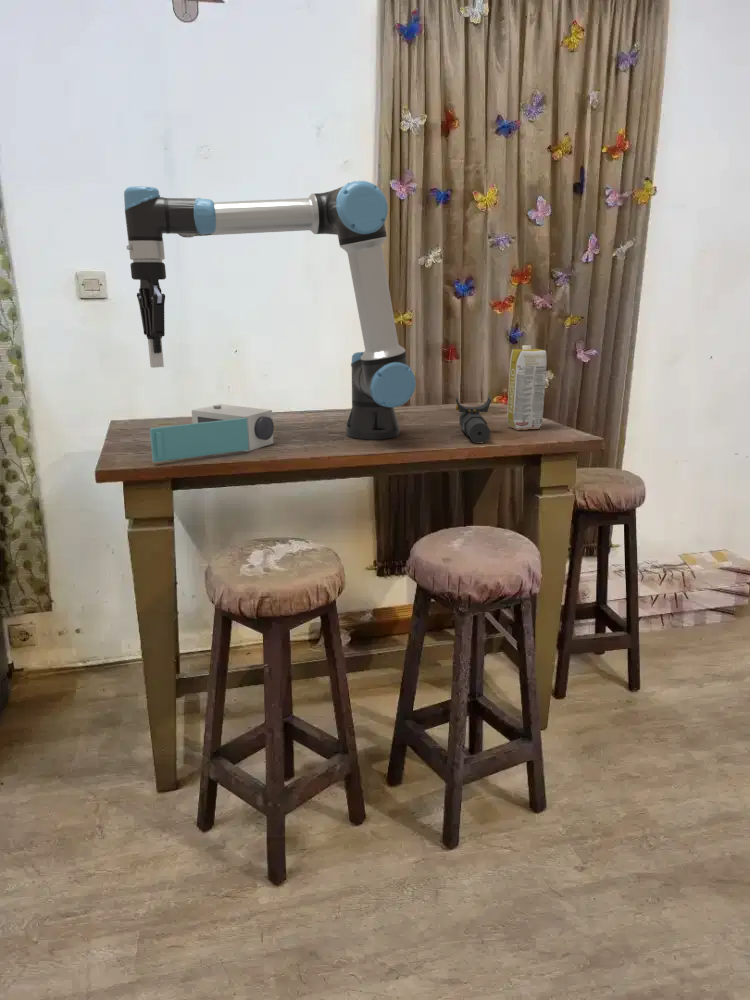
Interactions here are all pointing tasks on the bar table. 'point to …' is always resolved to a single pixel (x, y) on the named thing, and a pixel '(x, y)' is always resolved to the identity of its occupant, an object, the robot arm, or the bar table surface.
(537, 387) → the juice carton
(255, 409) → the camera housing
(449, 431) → the bar table surface
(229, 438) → the side door
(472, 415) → the laser sight
